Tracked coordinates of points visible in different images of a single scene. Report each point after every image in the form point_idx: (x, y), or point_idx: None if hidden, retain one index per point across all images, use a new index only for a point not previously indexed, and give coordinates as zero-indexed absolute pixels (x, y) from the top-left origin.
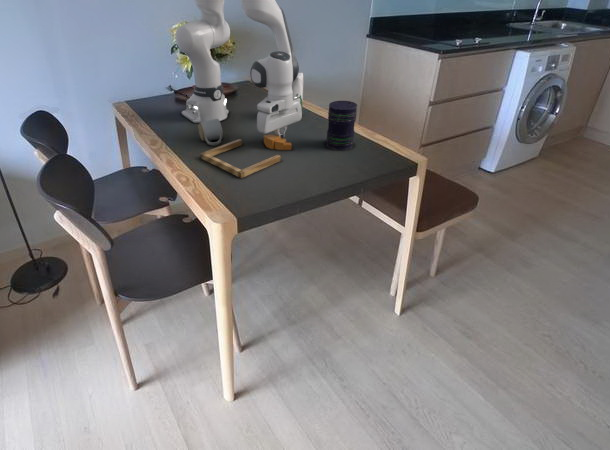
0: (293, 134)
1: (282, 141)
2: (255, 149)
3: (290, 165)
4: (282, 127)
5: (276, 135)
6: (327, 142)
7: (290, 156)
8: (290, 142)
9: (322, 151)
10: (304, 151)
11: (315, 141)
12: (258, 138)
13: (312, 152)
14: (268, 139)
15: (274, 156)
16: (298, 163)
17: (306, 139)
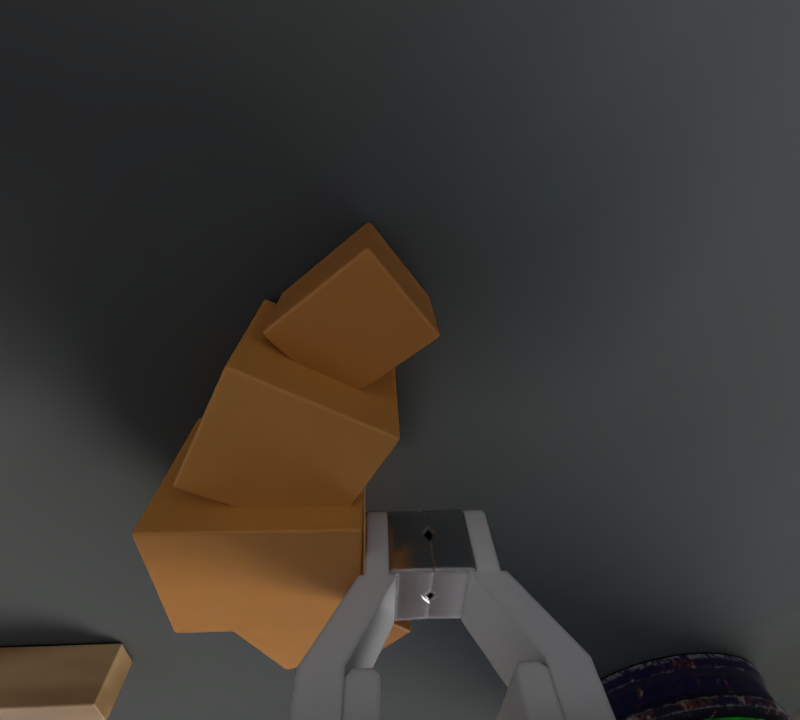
0: (779, 389)
1: (300, 654)
2: (11, 378)
3: (159, 711)
4: (509, 711)
5: (352, 573)
6: (625, 706)
7: (261, 653)
8: (403, 633)
9: (499, 699)
10: (417, 655)
11: (656, 607)
12: (327, 45)
13: (441, 682)
14: (155, 568)
15: (40, 713)
16: (228, 716)
17: (671, 550)
